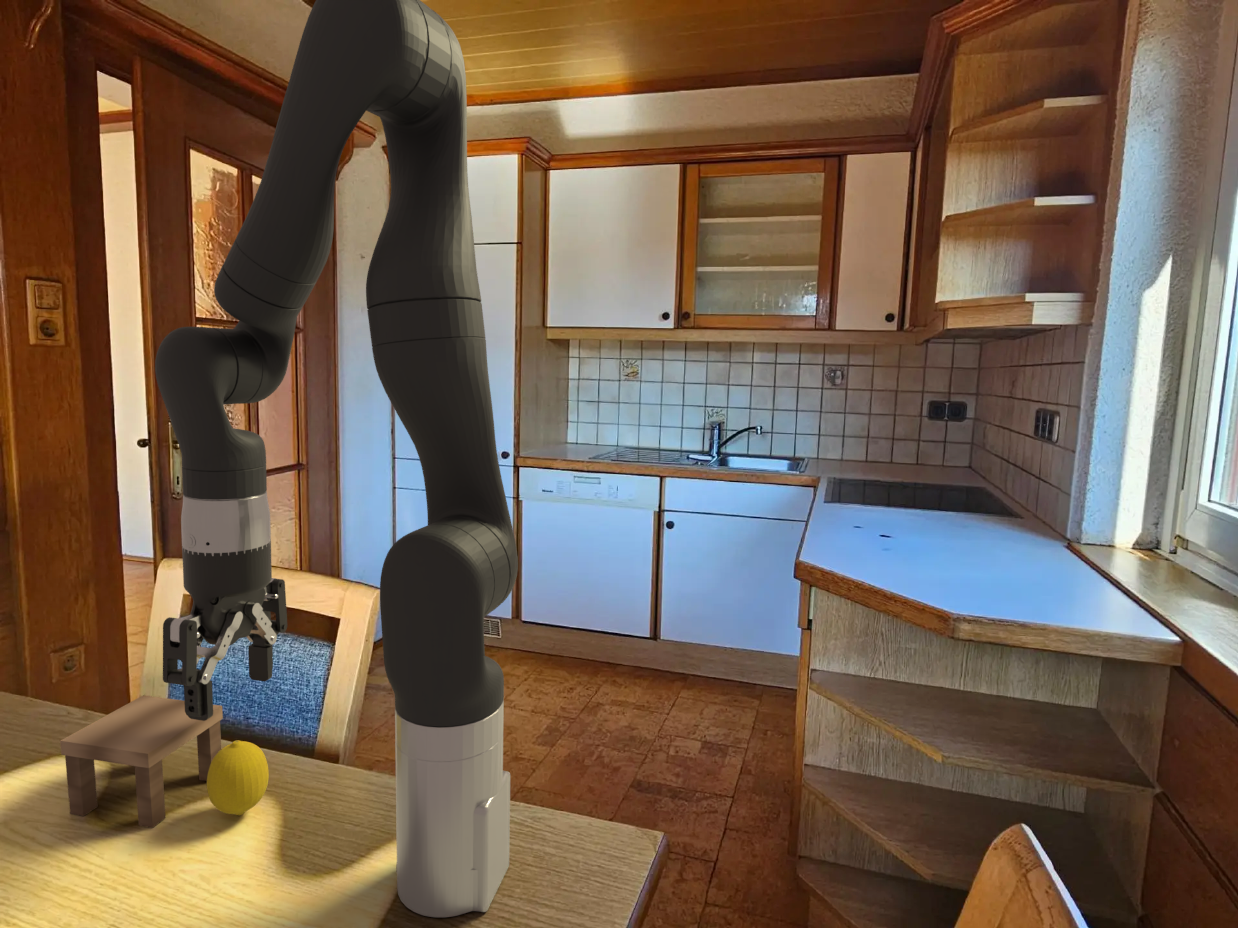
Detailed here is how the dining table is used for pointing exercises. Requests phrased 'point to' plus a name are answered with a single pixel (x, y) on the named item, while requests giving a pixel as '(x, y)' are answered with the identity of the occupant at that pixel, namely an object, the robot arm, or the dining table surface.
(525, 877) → the dining table surface
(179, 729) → the stool
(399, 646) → the robot arm
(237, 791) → the lemon
